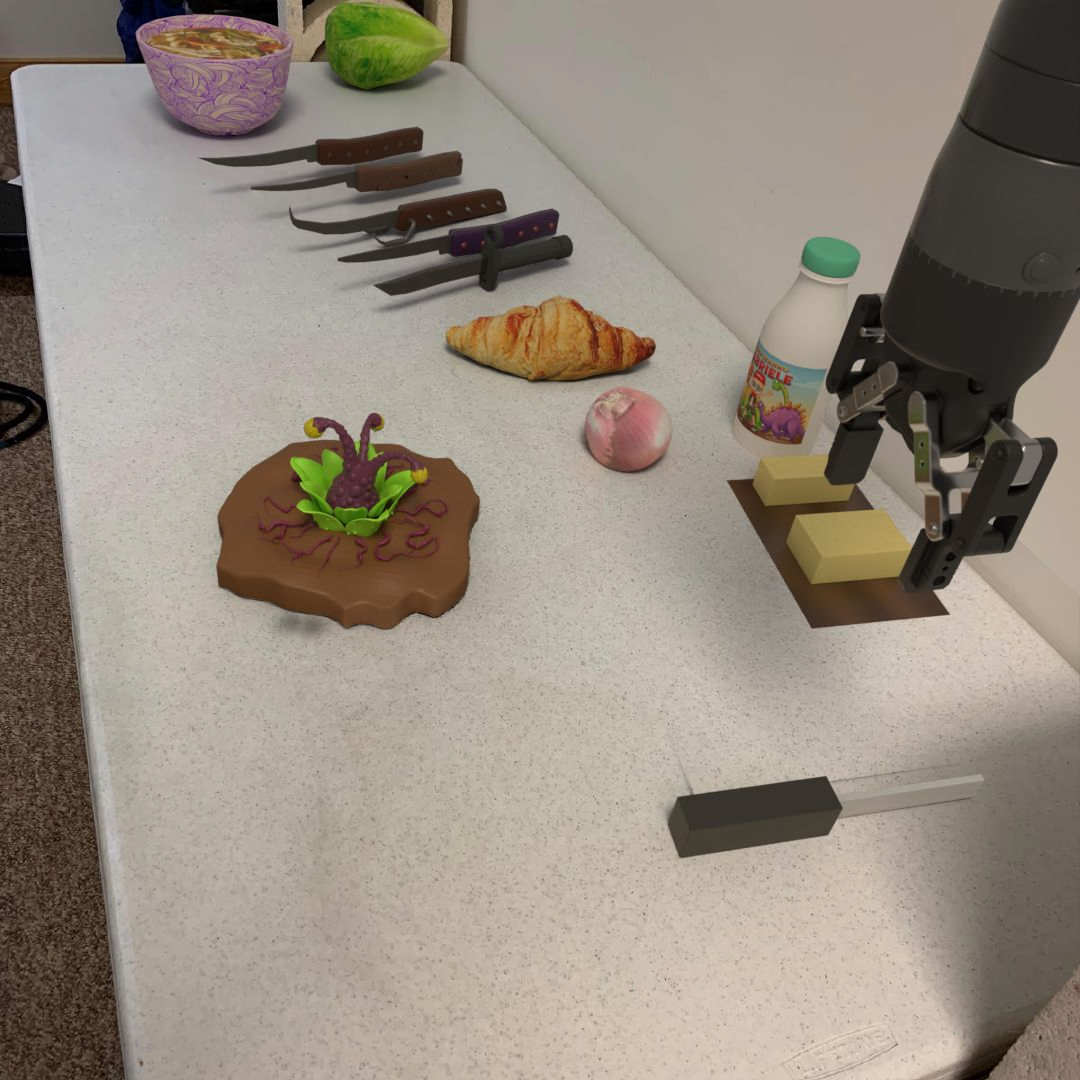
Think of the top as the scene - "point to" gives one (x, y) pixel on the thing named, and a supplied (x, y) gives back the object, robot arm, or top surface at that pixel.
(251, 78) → the bowl of food
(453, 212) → the knife set
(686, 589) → the top surface
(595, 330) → the croissant
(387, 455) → the plant
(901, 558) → the butter block
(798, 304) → the milk bottle
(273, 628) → the top surface
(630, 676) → the top surface
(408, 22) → the lettuce
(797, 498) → the butter slice
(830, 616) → the butter board
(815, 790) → the butter knife
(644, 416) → the onion
